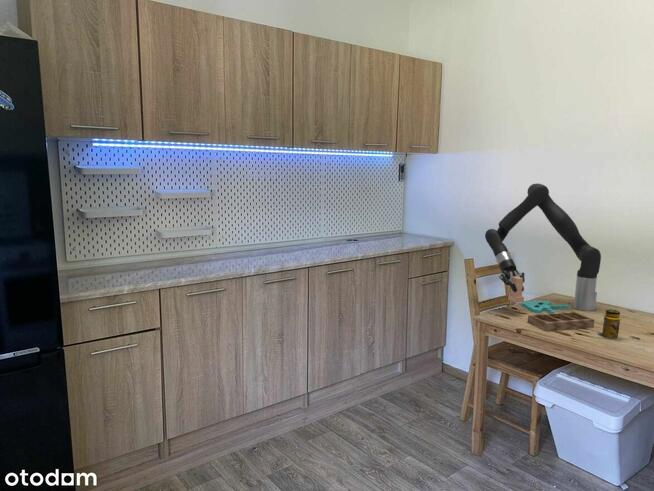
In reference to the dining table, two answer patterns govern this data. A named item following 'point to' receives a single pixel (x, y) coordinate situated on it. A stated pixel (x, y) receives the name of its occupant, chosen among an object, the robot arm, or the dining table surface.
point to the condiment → (610, 325)
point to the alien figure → (542, 306)
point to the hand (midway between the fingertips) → (519, 291)
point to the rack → (560, 321)
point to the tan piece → (517, 295)
